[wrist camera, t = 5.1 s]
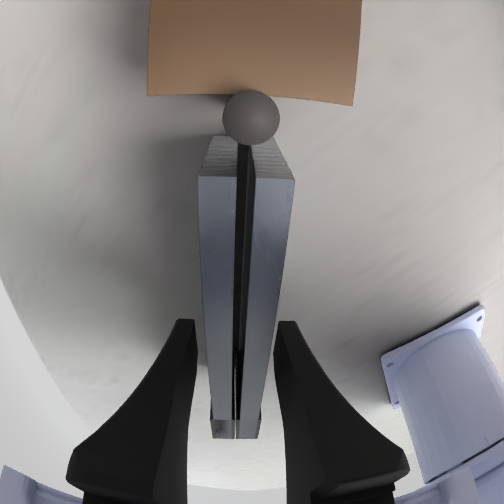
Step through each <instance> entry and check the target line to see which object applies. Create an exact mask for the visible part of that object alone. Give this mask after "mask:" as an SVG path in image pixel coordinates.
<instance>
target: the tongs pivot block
mask: <svg viewBox="0 0 504 504" xmlns="http://www.w3.org/2000/svg"><path fill="white" fill-rule="evenodd" d="M361 6H362V0H151V5H150V18H149V35H148V61H147V96H159V95H180V94H231V95H230V97H229V99H228V102H227V104H226V106H225V108H224V111H223V117H222V120H223V126H224V129H225V131H226V132H227V134H228V135H229V136H230V137H231V138H232V139H233V140H235V141H236V142H238V143H241V144H244V145H258V144H261V143H264V142H266V141H267V140H269V139H270V138H271V137H272V136H273V135H274V134H275V132H276V131H277V128H278V126H279V121H280V115H279V111H278V108H277V106H276V104H275V103H274V101H273V100H272V99H271V98H269V97H268V96H274V97H286V98H296V99H305V100H314V101H321V102H328V103H335V104H341V105H347V106H353V98H354V90H355V81H356V71H357V61H358V50H359V38H360V24H361Z"/></svg>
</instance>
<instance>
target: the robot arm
mask: <svg viewBox="0 0 504 504" xmlns="http://www.w3.org/2000/svg"><path fill="white" fill-rule="evenodd" d="M484 315H485V308H484V307H483V305H479V306H477V307H476V308H474V309H472V310H470V311H469V312H467V313H465V314H463V315H462V316H460V317H458V318H456V319H455V320H453V321H451V322H449V323H447V324H445V325H443V326H442V327H440V328H438V329H436V330H434V331H432V332H430V333H428V334H426V335H424V336H422V337H420V338H418V339H416V340H414V341H412V342H410V343H407V344H405V345H403V346H401V347H399V348H397V349H394V350H392V351H390V352H388V353H386V354H384V355H383V356H382V357H381V364H382V367H383V371H384V375H385V379H386V383H387V387H388V391H389V395H390V399H391V404H392V407H393V409H397V408H400V407H401V408H402V411H403V414H404V417H405V420H406V423H407V426H408V430H409V433H410V436H411V439H412V442H413V445H414V449H415V452H416V455H417V459H418V462H419V466H420V469H421V473H422V477H423V480H424V484H427V485H426V486H424V487H422V488H420V489H418V490H416V491H414V492H412V493H409V494H406V495H403V496H400V497H397V498H394V497H393V492H392V491H395V485H394V482H396V481H397V480H399V479H401V478H402V477H404V476H406V475H407V474H408V473H409V471H410V467H409V464H408V460H407V458H406V455H405V453H404V451H403V449H401V448H400V447H399V446H397V445H396V444H394V443H393V442H391V441H390V440H389V439H388V438H386V437H385V436H384V435H382V434H381V433H380V432H379V431H378V430H376V429H375V428H374V427H373V426H372V425H371V424H370V423H368V422H367V421H366V420H365V419H364V418H363V417H362V416H361V415H360V414H359V413H358V412H357V411H356V410H355V409H354V408H353V407H352V406H351V405H350V404H349V403H348V401H347V400H346V399H345V398H344V397H343V396H342V394H341V393H340V392H339V391H338V390H337V388H336V387H335V386H334V384H333V383H332V382H331V380H330V379H329V378H328V376H327V375H326V373H325V372H324V371H323V369H322V368H321V366H320V364H319V363H318V361H317V360H316V358H315V357H314V355H313V353H312V352H311V350H310V348H309V346H308V345H307V343H306V341H305V339H304V337H303V335H302V334H301V332H300V329H299V327H298V325H297V323H296V322H295V321H279V323H278V329H277V335H276V340H275V346H274V352H273V357H274V374H275V381H276V387H277V392H278V398H279V403H280V409H281V415H282V420H283V427H284V439H285V457H286V484H287V504H504V383H503V381H502V379H501V377H500V375H499V373H498V371H497V370H496V368H495V366H494V364H493V362H492V361H491V359H490V357H489V355H488V354H487V352H486V350H485V348H484V347H483V345H482V343H481V342H480V336H481V331H482V326H483V321H484ZM197 357H198V349H197V340H196V331H195V322H194V319H178V320H176V323H175V325H174V327H173V329H172V331H171V334H170V335H169V337H168V339H167V341H166V343H165V345H164V347H163V348H162V350H161V352H160V353H159V355H158V357H157V359H156V360H155V362H154V363H153V365H152V366H151V368H150V369H149V371H148V372H147V374H146V375H145V377H144V378H143V380H142V381H141V382H140V384H139V385H138V387H137V388H136V389H135V390H134V392H133V393H132V394H131V395H130V397H129V398H128V399H127V400H126V401H125V402H124V404H123V405H122V406H121V407H120V408H119V409H118V410H117V411H116V412H115V413H114V414H113V416H112V417H110V418H109V419H108V420H107V421H106V422H105V423H104V424H103V425H102V426H101V427H100V428H99V429H98V430H97V431H96V432H94V433H93V434H92V435H91V436H89V437H88V438H87V439H86V440H84V441H83V442H82V443H81V444H80V445H78V446H77V447H76V448H75V449H74V450H73V453H72V455H71V458H70V461H69V464H68V469H67V474H66V480H67V482H68V483H70V484H71V485H73V486H75V487H76V488H78V489H80V490H82V491H84V496H83V499H81V498H78V497H75V496H72V495H69V494H66V493H63V492H61V491H58V490H55V489H53V488H50V487H48V486H45V485H43V484H40V483H38V482H36V481H35V480H33V479H32V478H30V477H28V476H26V475H24V474H22V473H20V472H18V471H16V470H14V469H12V468H10V467H8V466H6V465H5V466H3V470H2V474H1V478H0V504H187V442H188V425H189V417H190V411H191V405H192V399H193V393H194V386H195V380H196V374H197ZM428 483H429V484H428Z"/></svg>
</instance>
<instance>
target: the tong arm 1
mask: <svg viewBox="0 0 504 504" xmlns="http://www.w3.org/2000/svg"><path fill="white" fill-rule="evenodd" d="M237 145H238V142H236V141H235V140H233V139H232V138H231V137H230V136H213V138H212V141H211V143H210V146H209V148H208V151H207V153H206V156H205V158H204V161H203V164H202V166H201V169H200V171H199V174H198V216H199V244H200V265H201V284H202V300H203V314H204V328H205V340H206V352H207V363H208V373H209V383H210V393H211V410H210V422H211V429H212V435H213V438H223V439H234V438H235V349H232V331H233V283H234V246H235V214H236V187H237Z"/></svg>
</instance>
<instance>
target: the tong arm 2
mask: <svg viewBox="0 0 504 504" xmlns="http://www.w3.org/2000/svg"><path fill="white" fill-rule="evenodd" d="M294 185H295V179H294V177H293V175H292V173H291V171H290V169H289V167H288V165H287V163H286V161H285V159H284V157H283V155H282V153H281V151H280V149H279V147H278V145H277V143H276V141H275V139H274V138H270V139H269V140H267V141H266V142H264V143H261V144H258V145H249V157H248V175H247V193H246V211H245V230H244V250H243V270H242V290H241V311H240V333H239V349H236V363H235V414H236V439H257V438H258V434H259V429H260V424H261V402H262V396H263V391H264V385H265V379H266V374H267V368H268V362H269V356H270V350H271V345H272V338H273V332H274V326H275V320H276V314H277V307H278V301H279V294H280V288H281V281H282V274H283V267H284V260H285V253H286V246H287V239H288V232H289V224H290V217H291V209H292V201H293V193H294Z"/></svg>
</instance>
